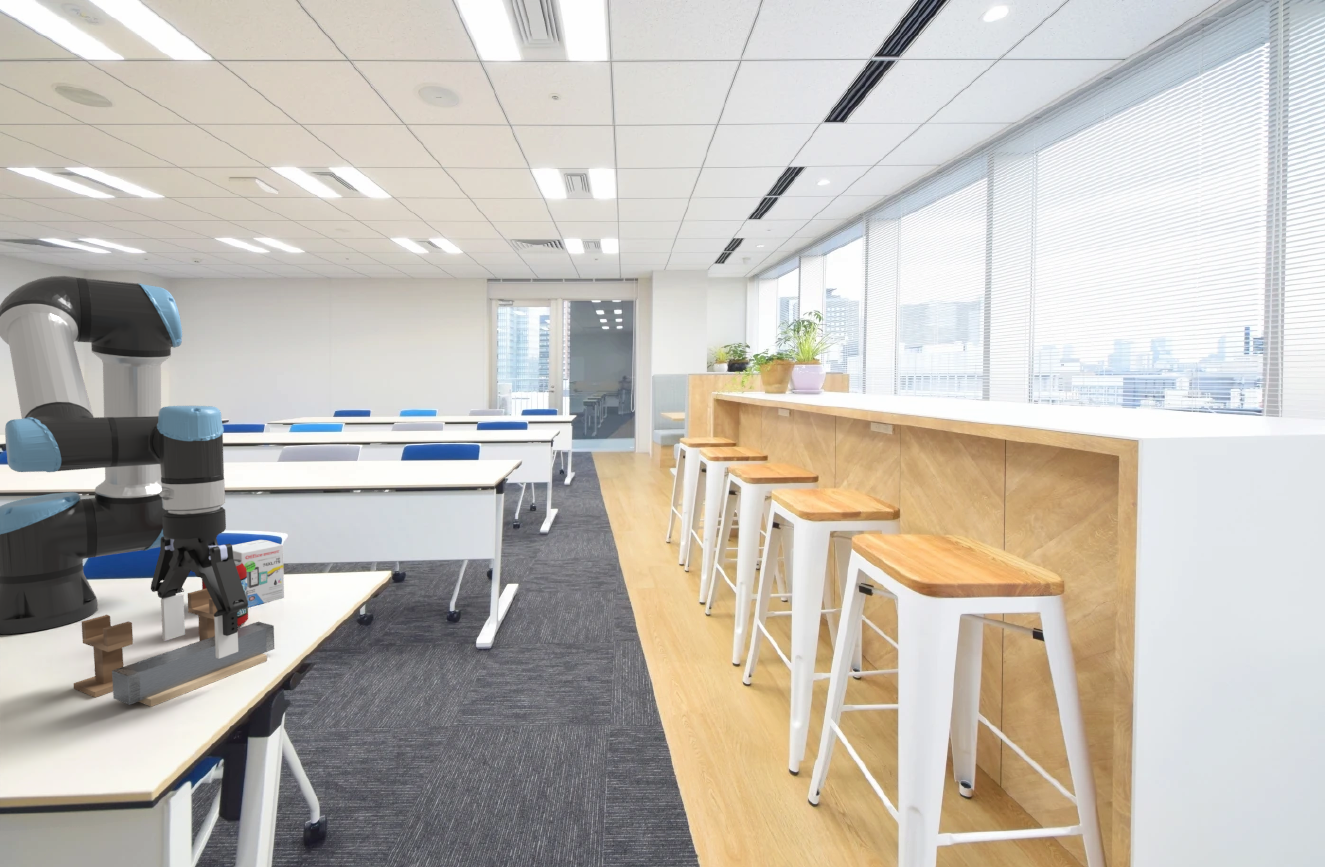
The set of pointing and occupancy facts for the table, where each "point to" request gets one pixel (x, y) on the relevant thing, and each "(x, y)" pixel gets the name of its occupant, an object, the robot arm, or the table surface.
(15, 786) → the table surface
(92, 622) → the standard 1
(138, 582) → the table surface
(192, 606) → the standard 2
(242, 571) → the beverage can
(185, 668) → the rail
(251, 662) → the light wooden board
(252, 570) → the ink box
